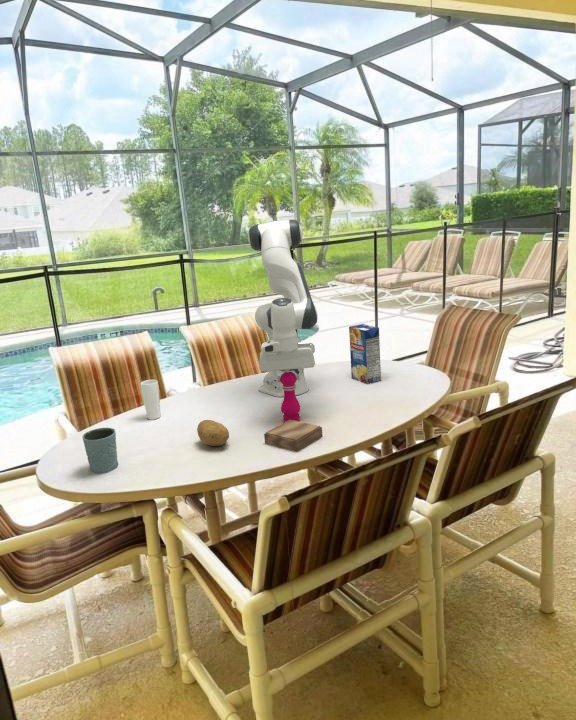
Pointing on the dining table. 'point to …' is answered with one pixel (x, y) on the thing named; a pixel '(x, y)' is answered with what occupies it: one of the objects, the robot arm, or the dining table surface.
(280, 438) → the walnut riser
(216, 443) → the potato
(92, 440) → the green textured cup
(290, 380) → the pepper mill
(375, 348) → the juice carton
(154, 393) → the drinking glass
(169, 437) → the dining table surface
